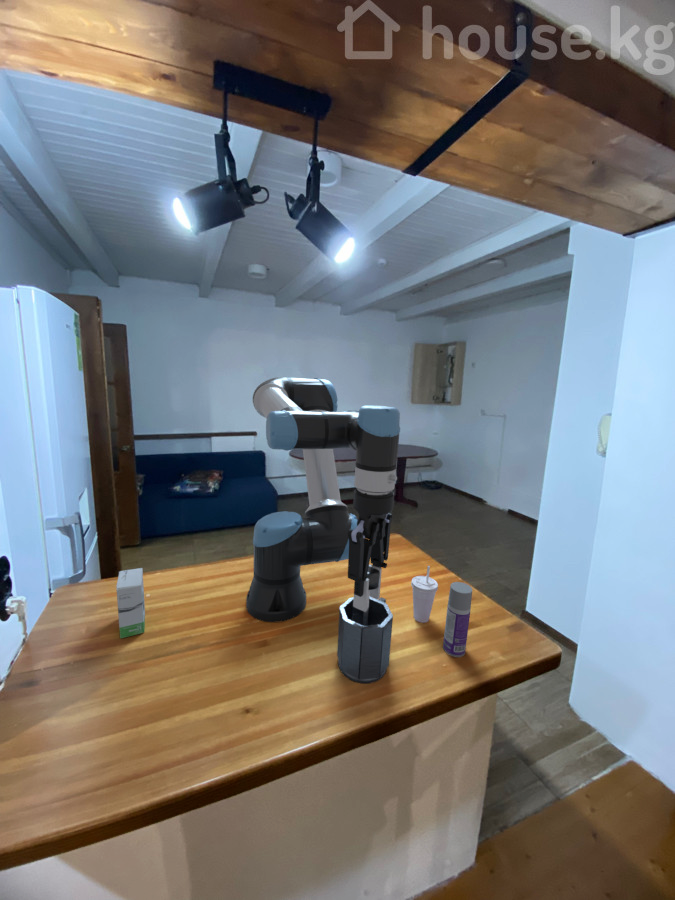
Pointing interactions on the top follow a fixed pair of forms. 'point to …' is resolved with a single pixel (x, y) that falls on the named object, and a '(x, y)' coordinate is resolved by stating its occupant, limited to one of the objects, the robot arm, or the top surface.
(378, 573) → the plunger
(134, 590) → the ink box
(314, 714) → the top surface
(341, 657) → the mug
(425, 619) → the smoothie
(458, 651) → the container
